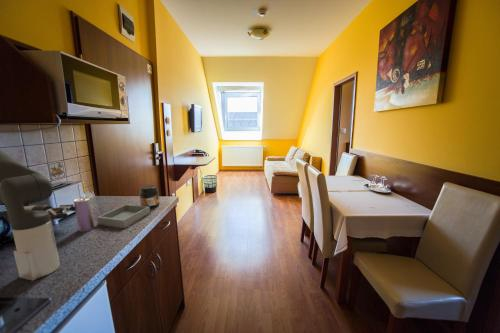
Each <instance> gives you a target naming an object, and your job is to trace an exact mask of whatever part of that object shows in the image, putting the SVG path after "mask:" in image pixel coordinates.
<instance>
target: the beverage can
mask: <svg viewBox="0 0 500 333" xmlns="http://www.w3.org/2000/svg"><path fill="white" fill-rule="evenodd" d="M73 205H74V206H75V211H74V212H75V216H76V221H77V222H76V223H77V228H78V229H77V230H78V231H79V232H80V233H84V232H85V233H86V232H90V231H91V230H93V229H94V228H95V225H94V224H95V222H94V218H93V217H94V216H93V211H92V204H91V199H90V197H88V196H86V197H85V196H84V197H79V198H75V199H74V200H73Z"/></svg>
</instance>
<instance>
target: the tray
mask: <svg viewBox="0 0 500 333" xmlns="http://www.w3.org/2000/svg"><path fill="white" fill-rule="evenodd" d="M150 214H151V208H150V207H147V206H141V205H137V204H128V203H127V204H123V205H121V206H119V207H117V208H114V209H112V210H110V211H107V212H106V213H103V214H101V215H99V216H96V221H97V225H99V226H105V227H111V228H118V229H126V228H128V227H130V226H131V225H133V224H135V223H136V222H138V221H140V220H142V219H143V218H145V217H147V216H149V215H150Z"/></svg>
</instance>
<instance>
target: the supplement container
mask: <svg viewBox="0 0 500 333" xmlns="http://www.w3.org/2000/svg"><path fill="white" fill-rule="evenodd" d="M139 191H140V192H139V193H138V194H139V200H140V201H139V202H140V206H147V207H150V209H153V208H157V207H158V206H159V205H160V194H159V193H160V192H159V190H158V185H156V184H146V185H143V186H140V187H139Z"/></svg>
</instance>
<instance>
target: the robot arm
mask: <svg viewBox="0 0 500 333" xmlns="http://www.w3.org/2000/svg"><path fill="white" fill-rule="evenodd" d="M53 191H54V187H53V185H52V183H51V180H49V179H48V178H47V177H46V176H45V174H42V173H40V172H38V171H36V170H33V169H31V168H28V167H27V166H25V165H23V164H22V163H21V162H19V161H18V160H17V159H15V158H14V157H12V156H11V155H9V154H7V153H6V152H4V150H2V149H1V148H0V205H5V207H6V210H7V211H4V212H0V216H3V217H4V218H5V219H6V220H7V221H8V223H9V224H8V225H10V228H11V231H12V235H13V239H14V244H15V250H14V251H13V256H14V260H15V264H16V268H17V272H18V276H19V279H25V280H28V281H32V282H33V281H35V280H37V279H40V278H43V277H45V276H47V275H49V274H52V273H53V272H55V271H56V270H57V269H58V268H59V267H60V265H61V263H60V258H59V252H58V247H57V243H56V237H55V233H54V228H53V223H52V222H54V221H55V220H60V219H61V220H63V219H68V218H69V215H68V213H70V212H75V206H74V203H73V204H59V206H55V207H52V206H51V205H49V204H41V205H40V204H38V205H37V204H36V203H40V202H43V201H46V200H47V199H49V198H50V197H51V196H52V195H53ZM32 204H36V205H32Z"/></svg>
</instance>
